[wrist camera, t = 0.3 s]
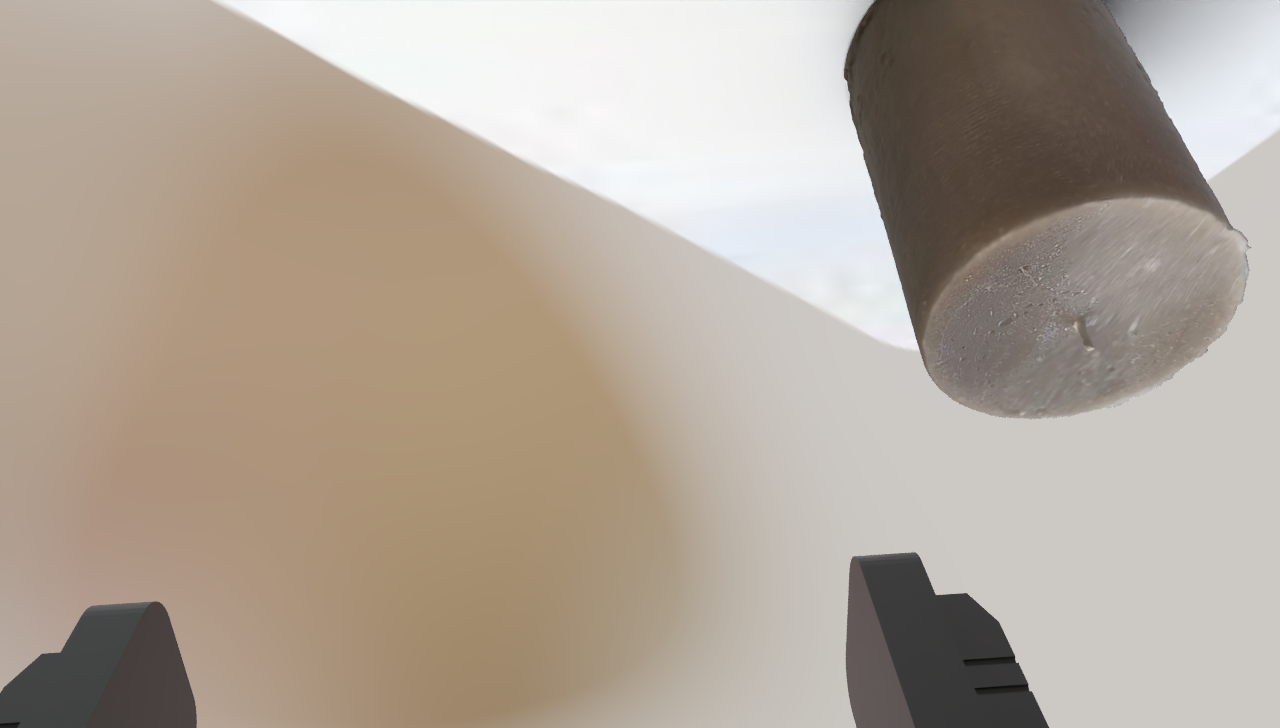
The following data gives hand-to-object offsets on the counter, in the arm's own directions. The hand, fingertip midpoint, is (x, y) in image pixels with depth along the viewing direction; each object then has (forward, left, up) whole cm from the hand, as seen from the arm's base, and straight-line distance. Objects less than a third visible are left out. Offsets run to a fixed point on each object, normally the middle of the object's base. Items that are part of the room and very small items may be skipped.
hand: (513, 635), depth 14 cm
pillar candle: (+19, +5, -31) cm, 37 cm away
